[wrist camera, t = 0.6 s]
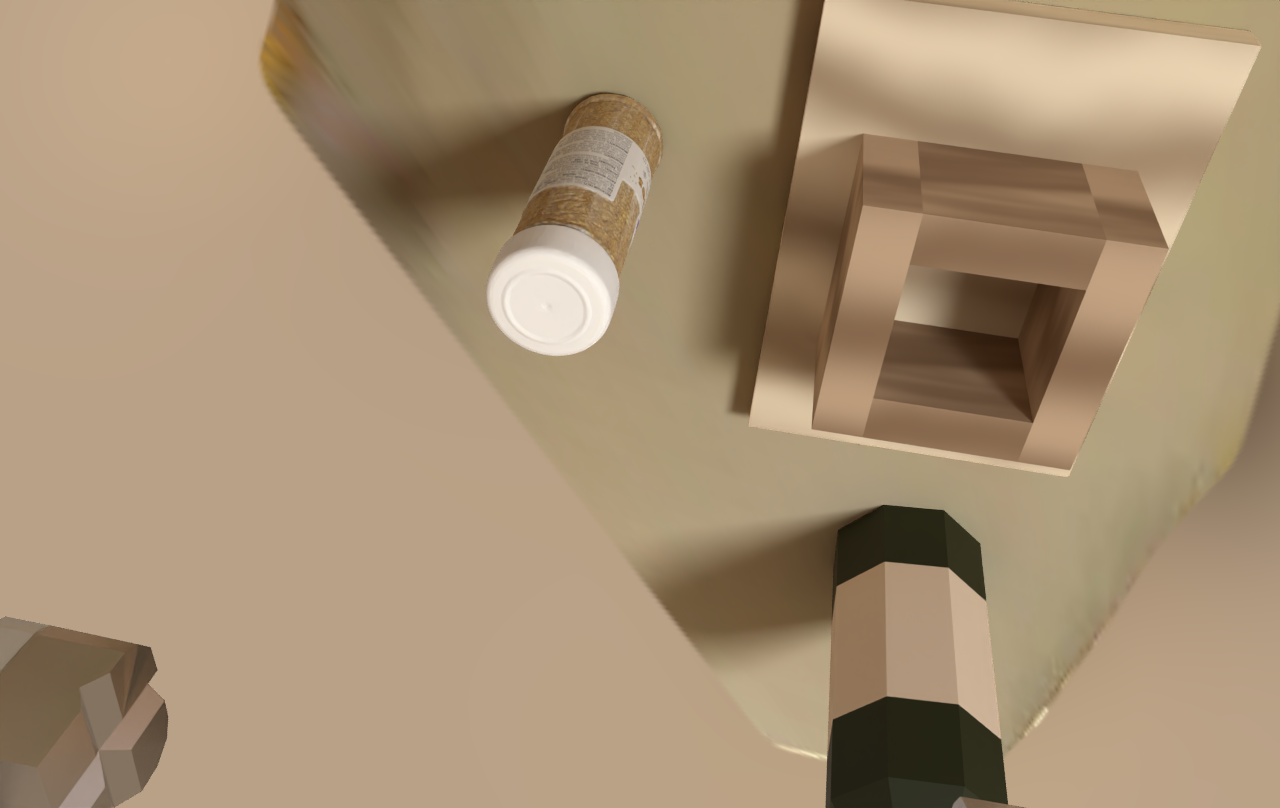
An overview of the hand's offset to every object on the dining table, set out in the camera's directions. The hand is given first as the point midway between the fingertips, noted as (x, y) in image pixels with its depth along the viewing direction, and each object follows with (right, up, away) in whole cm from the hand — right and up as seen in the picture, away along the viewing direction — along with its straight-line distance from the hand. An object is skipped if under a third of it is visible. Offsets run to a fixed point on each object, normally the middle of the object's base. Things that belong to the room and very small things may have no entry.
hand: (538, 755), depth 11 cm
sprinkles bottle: (0, +15, +38) cm, 41 cm away
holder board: (+15, +10, +38) cm, 42 cm away
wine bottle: (+16, -5, +51) cm, 54 cm away
